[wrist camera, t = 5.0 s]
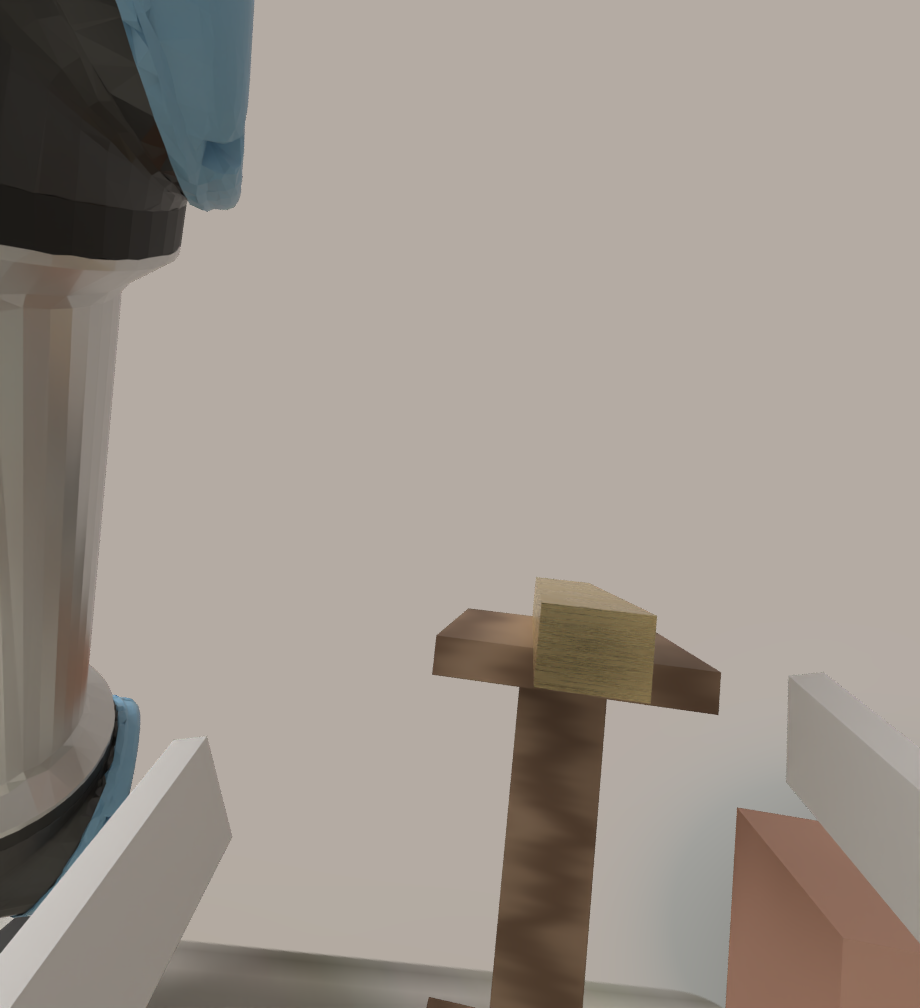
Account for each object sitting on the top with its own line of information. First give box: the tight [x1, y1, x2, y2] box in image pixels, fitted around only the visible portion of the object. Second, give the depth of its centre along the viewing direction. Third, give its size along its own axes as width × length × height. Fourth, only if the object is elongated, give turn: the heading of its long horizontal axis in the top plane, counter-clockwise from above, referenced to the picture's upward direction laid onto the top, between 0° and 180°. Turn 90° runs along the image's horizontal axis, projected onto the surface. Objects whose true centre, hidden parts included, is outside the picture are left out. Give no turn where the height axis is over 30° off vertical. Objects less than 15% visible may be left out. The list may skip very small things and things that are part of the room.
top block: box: [726, 808, 920, 1008], centre depth 23 cm, size 8×10×11 cm
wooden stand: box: [427, 609, 721, 1008], centre depth 32 cm, size 14×14×30 cm
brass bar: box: [533, 577, 657, 704], centre depth 29 cm, size 4×22×3 cm, turn 172°
